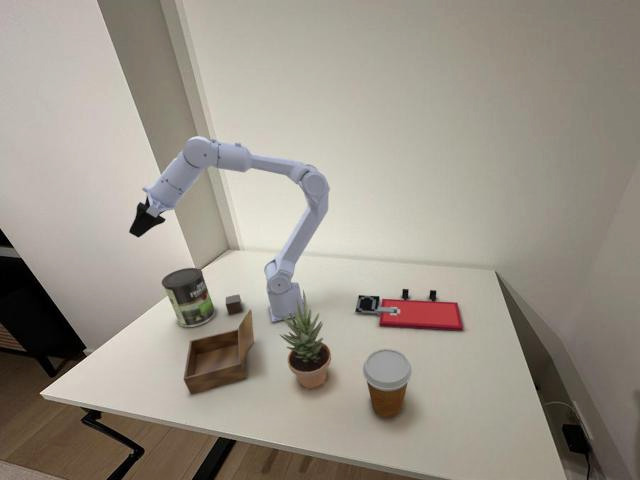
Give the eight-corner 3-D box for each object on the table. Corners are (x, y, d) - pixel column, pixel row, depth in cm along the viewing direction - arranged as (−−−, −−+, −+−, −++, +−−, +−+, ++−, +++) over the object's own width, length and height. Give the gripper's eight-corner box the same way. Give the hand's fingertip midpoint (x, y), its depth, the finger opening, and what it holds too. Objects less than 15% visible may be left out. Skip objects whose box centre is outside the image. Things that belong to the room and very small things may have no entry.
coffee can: (222, 307, 99) (209, 268, 92) (201, 329, 91) (185, 288, 83) (193, 304, 101) (178, 266, 94) (170, 325, 93) (152, 285, 85)
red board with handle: (359, 294, 102) (352, 325, 90) (359, 286, 101) (352, 317, 88) (455, 298, 99) (462, 331, 86) (456, 291, 97) (463, 324, 85)
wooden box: (244, 342, 85) (239, 328, 83) (246, 378, 75) (241, 363, 72) (195, 355, 82) (189, 340, 79) (190, 394, 71) (183, 379, 69)
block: (242, 304, 100) (239, 294, 98) (242, 311, 97) (239, 301, 95) (229, 307, 99) (225, 297, 97) (228, 314, 96) (225, 304, 94)
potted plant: (316, 402, 68) (300, 311, 56) (283, 384, 73) (262, 296, 60) (342, 370, 76) (333, 283, 63) (311, 356, 80) (297, 272, 67)
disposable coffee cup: (362, 388, 71) (360, 349, 65) (404, 384, 72) (406, 344, 65) (366, 427, 63) (364, 387, 57) (414, 423, 63) (417, 382, 57)
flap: (238, 326, 82) (240, 326, 82) (239, 361, 72) (241, 361, 72) (250, 309, 81) (251, 309, 81) (252, 342, 70) (254, 342, 71)
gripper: (162, 164, 74) (128, 207, 76) (149, 178, 62) (109, 229, 64) (191, 184, 78) (157, 225, 80) (183, 201, 66) (145, 248, 68)
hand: (138, 228), depth 72 cm, fingers open, 7 cm apart
